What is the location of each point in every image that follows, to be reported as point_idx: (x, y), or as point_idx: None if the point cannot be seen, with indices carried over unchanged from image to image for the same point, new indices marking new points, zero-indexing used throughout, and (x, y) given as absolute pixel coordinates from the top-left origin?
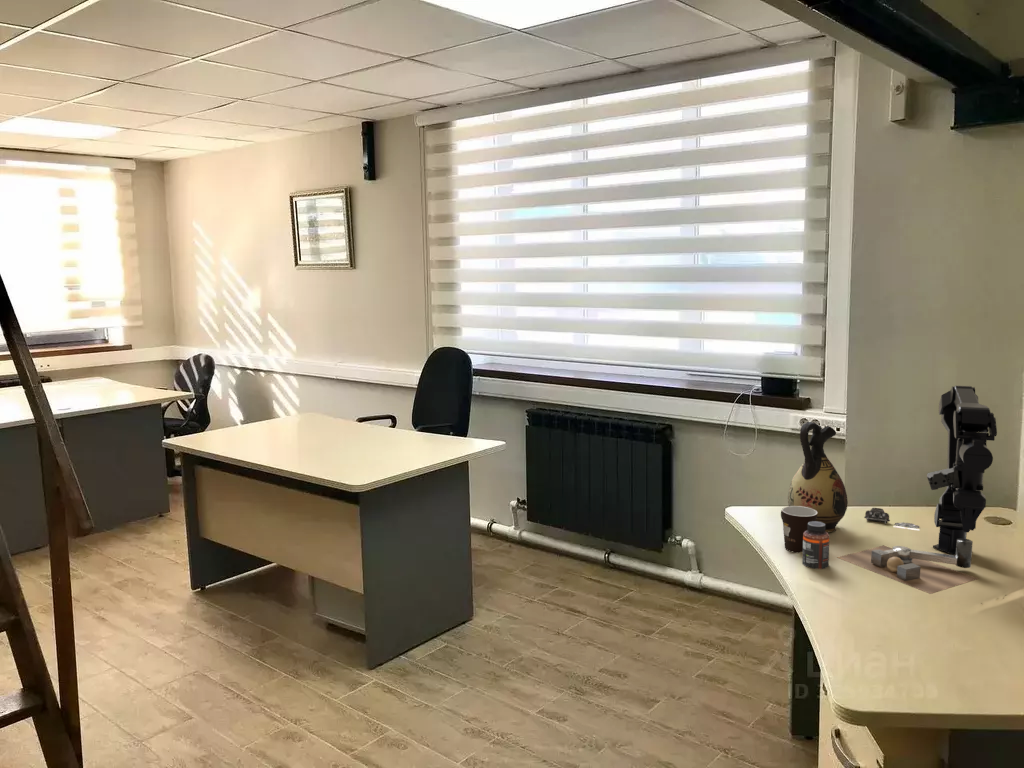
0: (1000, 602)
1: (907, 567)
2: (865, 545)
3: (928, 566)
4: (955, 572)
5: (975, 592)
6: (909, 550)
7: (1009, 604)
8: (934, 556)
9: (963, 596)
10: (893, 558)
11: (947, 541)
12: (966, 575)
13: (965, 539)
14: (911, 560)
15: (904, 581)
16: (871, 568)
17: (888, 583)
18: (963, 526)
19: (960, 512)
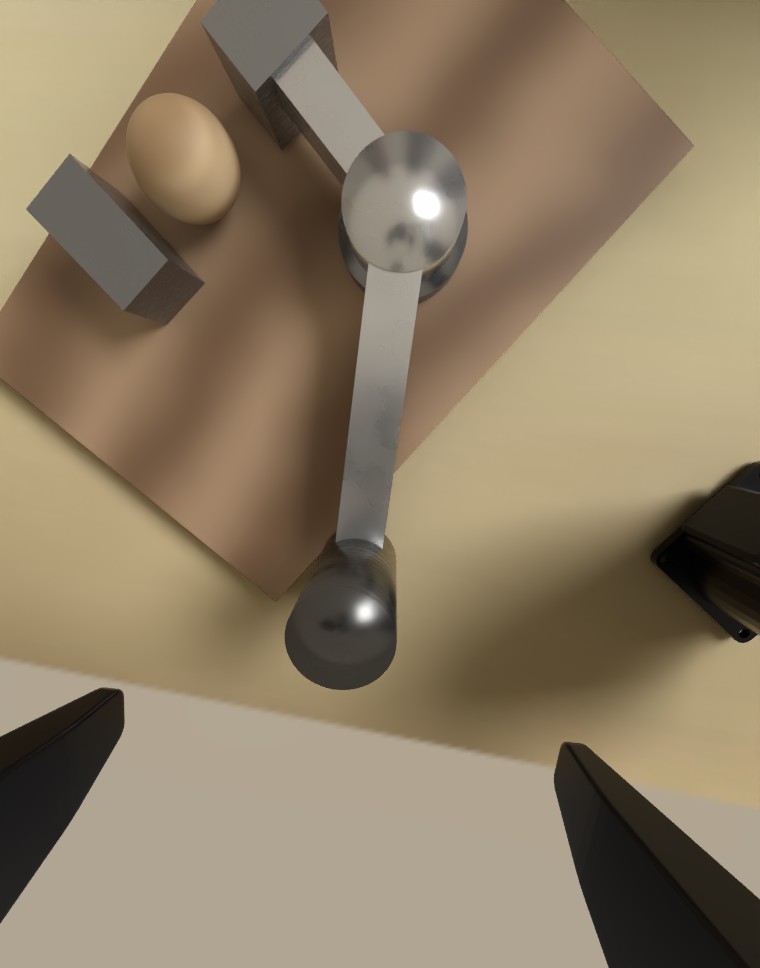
0: (101, 632)
1: (69, 222)
2: (743, 42)
3: None
4: (323, 513)
5: (171, 561)
6: (385, 259)
7: (95, 659)
8: (351, 419)
9: (101, 505)
10: (140, 115)
11: (725, 540)
12: (299, 556)
13: (375, 651)
14: None
15: None
16: None
17: None
18: (25, 732)
19: (622, 816)
